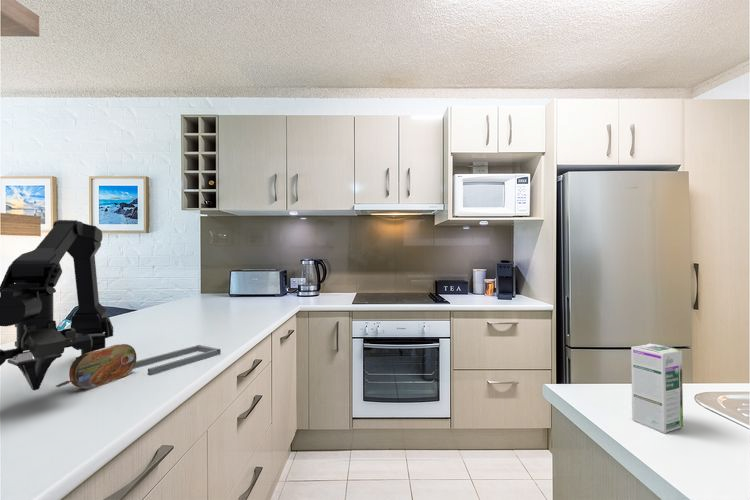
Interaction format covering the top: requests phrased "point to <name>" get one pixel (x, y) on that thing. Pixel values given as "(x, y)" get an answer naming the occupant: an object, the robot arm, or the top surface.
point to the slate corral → (208, 353)
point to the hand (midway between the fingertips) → (35, 389)
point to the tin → (102, 366)
